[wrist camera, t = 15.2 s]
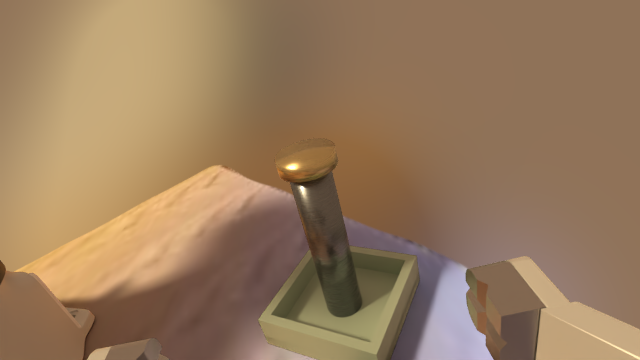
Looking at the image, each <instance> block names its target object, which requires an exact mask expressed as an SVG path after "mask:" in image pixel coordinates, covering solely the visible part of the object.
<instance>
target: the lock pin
mask: <svg viewBox="0 0 640 360" xmlns="http://www.w3.org/2000/svg"><path fill="white" fill-rule="evenodd" d="M274 160H275V163H276V167H277V170H278V173H279V176H280V178H281V179H283V180H284V181H287V182H290V184H291V188H292V191H293V194H294V198H295V201H296V204H297V208H298V211H299V215H300V218H301V221H302V225H303V228H304V231H305V235H306V238H307V241H308V245H309V248H310V251H311V255H312V258H313V261H314V265H315V268H316V272H317V275H318V278H319V282H320V285H321V288H322V292H323V295H324V298H325V302H326V305H327V308H328V311H329V312H330V313H331V314H332V315H334V316H336V317H341V318H342V317H349V316H351V315H353V314H355V313H356V312H358V311H359V309H360V308H361V306H362V297H361V293H360V288H359V284H358V280H357V276H356V271H355V267H354V263H353V259H352V254H351V250H350V246H349V242H348V237H347V233H346V229H345V224H344V220H343V216H342V212H341V207H340V204H339V199H338V195H337V190H336V186H335V182H334V178H333V173H332V170H333V169H334V168H335V167H336V166H337V164H338V158H337V154H336V149H335V145H334V143H333V142H332V141H330V140H327V139H308V140H303V141H300V142H296V143H294V144H291V145H289V146H287V147H285V148H283V149H282V150H281V151H279V152H278V153H277V155H276V156H275V159H274Z"/></svg>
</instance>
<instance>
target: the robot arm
mask: <svg viewBox="0 0 640 360" xmlns="http://www.w3.org/2000/svg"><path fill="white" fill-rule="evenodd" d="M466 282H467V284H468V285H469V287H470V289H469V290H468V292H467V293H466V299H467V306H468V310H469V314H470V316H471V319H472V321H473V323H474V325H475V327H476V329H477V330H478V331H479V332H481V333H483V334H484V335H486V347H487V348H488V350H489V352H490V354H491V355H492V357H493V359H494V360H640V329H638V328H635V327H633V326H631V325H629V324H626V323H624V322H622V321H620V320H617V319H615V318H613V317H611V316H608V315H606V314H604V313H601V312H599V311H597V310H595V309H593V308H590V307H588V306H586V305H584V304H581V303H579V302H572V303H570V301H569V300H568V299H567V298H566V297H565V296H564V295H563V294H562V293H561V291H560V290H559V289H558V288H557V287H556V286H555V285H554V284H553V283H552V282H551V281H550V279H549V278H548V277H547V276H546V275H545V274H544V273H543V272H542V270H541V269H540V268H539V267H538V266H537V265H536V264H535V263H534V262H533V261H532V259H531V258H529V257H527V256H523V257H519V258H515V259H510V260H506V261H501V262H497V263H492V264H488V265H484V266H479V267H475V268H471V269H467V271H466ZM94 319H95V316H94V315H93V314H92V313H91V312H90V311H89V310H87V309H78V308H67V307H64V306H63V305H62V303H61V302H60V301H59V300H58V299H57V298H56V296H55V295H54V294H53V293H52V292H51V291H50V290H49V288H48V287H47V286H46V285H45V284H44V283H43V282H42V280H41V279H40V278H39V277H38V276H37V275H35V274H34V273H29V274H28V273H25V272H9V271H6V268H5V266H4V264H3V263H2V262H1V261H0V360H83V356H84V343H85V338H86V335H87V334H88V332H89V330H90V328H91V326H92V324H93V322H94ZM161 348H162V346H161V345H160V343H159V342H158V340H157V339H156V338H150V339H145V340H140V341H134V342H129V343H124V344H119V345H114V346H110V347H105V348H100V349H96V350H94V351H93V352H92V353H91V354H90V355H89V357H88V359H87V360H170V359H169V358H168V357H166V356H164V355H162V354H160V351H161Z"/></svg>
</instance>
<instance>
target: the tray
mask: <svg viewBox="0 0 640 360" xmlns="http://www.w3.org/2000/svg"><path fill="white" fill-rule="evenodd" d="M350 250H351V254H352V259H353V263H354V267H355V271H356V276H357V280H358V284H359V288H360V293H361V297H362V306H361V308H360V309H359V311H358V312H356V313H355V314H353V315H351V316H349V317H342V318H341V317H336V316H334V315H332V314H331V313H330V312H329V311H328V308H327V305H326V302H325V298H324V295H323V292H322V288H321V285H320V282H319V278H318V275H317V272H316V268H315V265H314V261H313V258H312V255H311V251H310V249H309V250H308V252H307V253H306V255H305V256H304V257H303V259H302V260H301V261H300V263H299V264H298V265H297V267H296V268H295V270H294V271H293V272H292V274H291V275H290V276H289V278H288V279H287V281H286V282H285V283H284V285H283V286H282V287H281V289H280V290H279V292H278V293H277V294H276V296H275V297H274V298H273V300H272V301H271V303H270V304H269V305H268V307H267V308H266V309H265V311H264V312H263V314H262V315H261V316H260V318H259V319H258V321H259V323H260V326H261V328H262V330H263V333H264V335H265V337H266V340H267V342H268V343H269V344H272V345H275V346H278V347H281V348H284V349H287V350H290V351H293V352H296V353H299V354H302V355H305V356H308V357H311V358H314V359H317V360H390V359H391V356H392V354H393V351H394V348H395V346H396V343H397V340H398V337H399V335H400V332H401V329H402V327H403V324H404V321H405V319H406V316H407V313H408V310H409V308H410V305H411V302H412V300H413V297H414V294H415V291H416V289H417V286H418V283H419V281H420V278H419V271H418V263H417V256H416V255H409V254H402V253H396V252H389V251H382V250H376V249H369V248H362V247H356V246H350Z"/></svg>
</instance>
